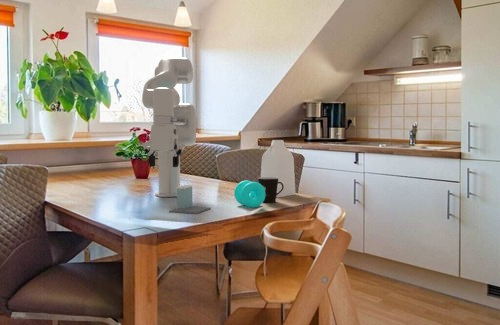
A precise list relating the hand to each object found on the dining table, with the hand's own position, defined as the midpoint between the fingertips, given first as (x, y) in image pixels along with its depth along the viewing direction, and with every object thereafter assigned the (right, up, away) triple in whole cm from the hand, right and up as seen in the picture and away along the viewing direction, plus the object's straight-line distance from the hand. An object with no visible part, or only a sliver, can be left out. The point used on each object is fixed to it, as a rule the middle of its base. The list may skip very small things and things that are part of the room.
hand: (163, 166), depth 179 cm
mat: (+11, -16, -4) cm, 20 cm away
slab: (+8, -15, +1) cm, 17 cm away
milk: (+45, -14, +41) cm, 63 cm away
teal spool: (+32, -16, +7) cm, 37 cm away
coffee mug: (+41, -15, +19) cm, 48 cm away
